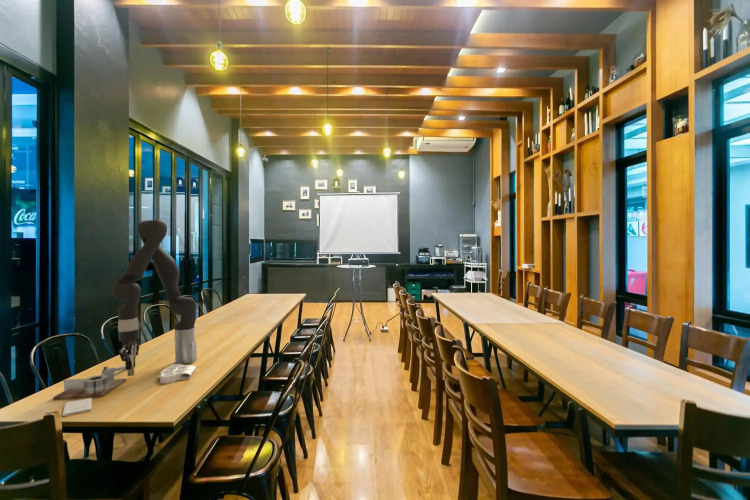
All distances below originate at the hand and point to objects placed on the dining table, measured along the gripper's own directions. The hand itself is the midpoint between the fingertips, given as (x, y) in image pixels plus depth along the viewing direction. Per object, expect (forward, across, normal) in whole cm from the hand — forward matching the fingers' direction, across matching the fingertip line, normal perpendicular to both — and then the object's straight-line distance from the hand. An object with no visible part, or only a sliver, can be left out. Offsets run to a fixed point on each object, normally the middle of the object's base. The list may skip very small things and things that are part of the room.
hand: (130, 368), depth 166 cm
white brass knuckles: (+8, +8, -16) cm, 19 cm away
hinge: (+6, -4, +13) cm, 15 cm away
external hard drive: (+7, -23, +8) cm, 25 cm away
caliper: (+8, +16, +13) cm, 22 cm away
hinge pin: (+3, 0, 0) cm, 3 cm away
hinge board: (+7, -4, +13) cm, 16 cm away
